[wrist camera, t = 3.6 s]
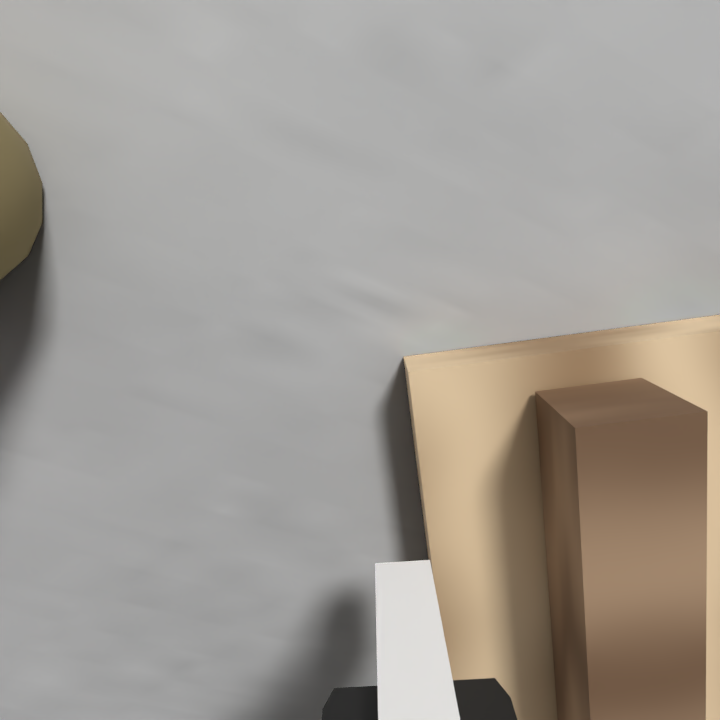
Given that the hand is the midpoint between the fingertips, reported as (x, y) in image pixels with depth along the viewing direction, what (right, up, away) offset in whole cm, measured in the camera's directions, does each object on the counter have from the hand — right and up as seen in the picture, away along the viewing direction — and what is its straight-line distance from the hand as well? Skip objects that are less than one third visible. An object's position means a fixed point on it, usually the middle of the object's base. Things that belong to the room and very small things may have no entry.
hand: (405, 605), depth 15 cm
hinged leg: (+6, -2, +2) cm, 7 cm away
